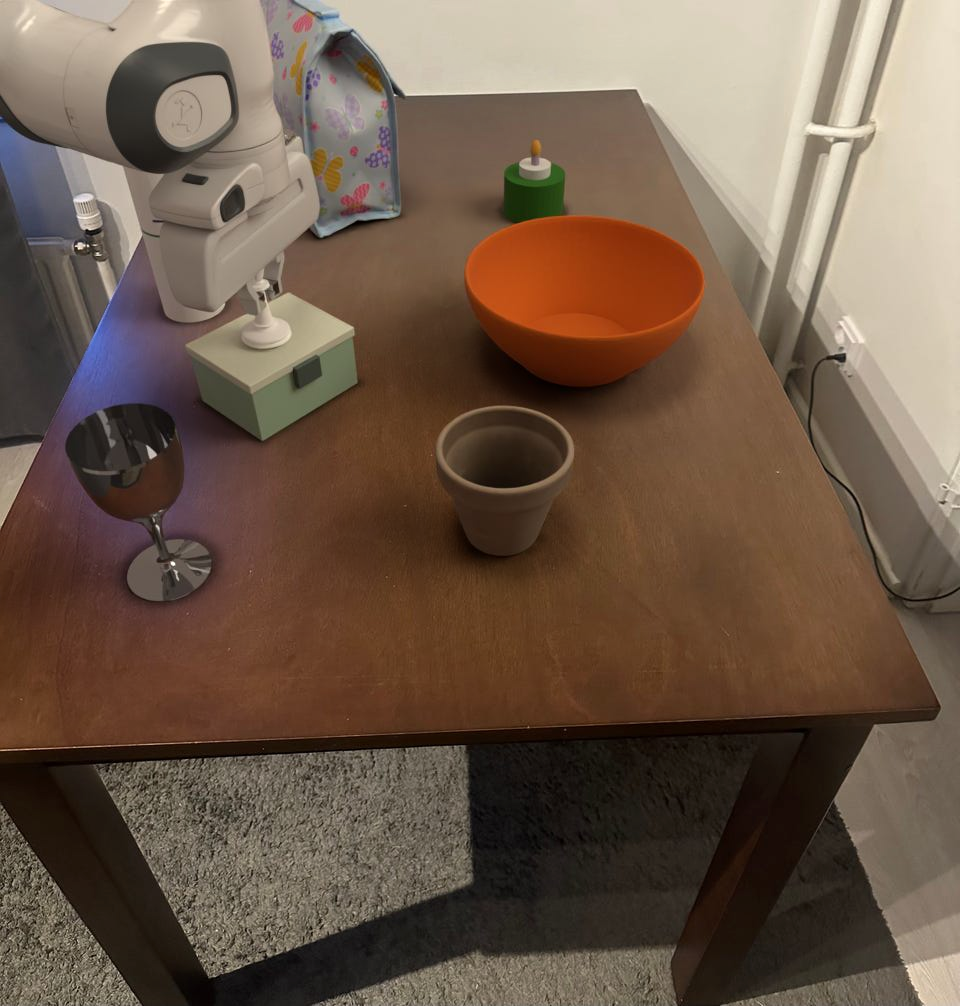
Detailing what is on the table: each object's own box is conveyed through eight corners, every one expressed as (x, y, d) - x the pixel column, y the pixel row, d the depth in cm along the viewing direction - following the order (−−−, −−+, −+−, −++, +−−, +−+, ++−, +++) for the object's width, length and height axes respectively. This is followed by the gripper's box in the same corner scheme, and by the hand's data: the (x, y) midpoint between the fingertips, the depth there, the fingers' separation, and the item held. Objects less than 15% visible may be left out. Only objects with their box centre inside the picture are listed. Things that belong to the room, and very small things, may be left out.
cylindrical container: (217, 322, 104) (165, 103, 87) (157, 322, 104) (92, 102, 87) (230, 290, 109) (183, 77, 92) (172, 290, 110) (115, 77, 92)
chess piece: (246, 322, 91) (229, 230, 84) (294, 323, 91) (282, 231, 85) (237, 348, 88) (218, 254, 81) (287, 349, 88) (273, 255, 81)
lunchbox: (265, 445, 88) (252, 388, 84) (196, 398, 94) (181, 343, 89) (363, 384, 96) (357, 329, 91) (294, 344, 101) (285, 290, 96)
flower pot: (511, 470, 86) (513, 385, 79) (592, 536, 79) (603, 451, 72) (413, 523, 81) (406, 438, 74) (492, 599, 74) (493, 513, 67)
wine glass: (185, 523, 81) (141, 389, 70) (234, 569, 77) (196, 436, 66) (104, 569, 77) (45, 435, 66) (152, 621, 73) (96, 487, 62)
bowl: (472, 288, 110) (472, 212, 103) (677, 294, 109) (691, 217, 102) (457, 416, 92) (455, 333, 85) (703, 424, 91) (721, 341, 84)
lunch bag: (423, 213, 124) (413, 2, 106) (314, 247, 117) (283, 28, 99) (347, 158, 137) (325, -38, 119) (245, 185, 131) (206, -18, 112)
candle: (496, 221, 122) (497, 148, 115) (512, 195, 128) (513, 124, 121) (555, 229, 121) (559, 156, 114) (568, 202, 126) (573, 131, 119)
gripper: (267, 117, 85) (289, 249, 95) (134, 207, 72) (175, 351, 81) (326, 126, 84) (341, 260, 93) (200, 221, 70) (234, 366, 80)
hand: (263, 303), depth 87 cm, fingers closed on chess piece
